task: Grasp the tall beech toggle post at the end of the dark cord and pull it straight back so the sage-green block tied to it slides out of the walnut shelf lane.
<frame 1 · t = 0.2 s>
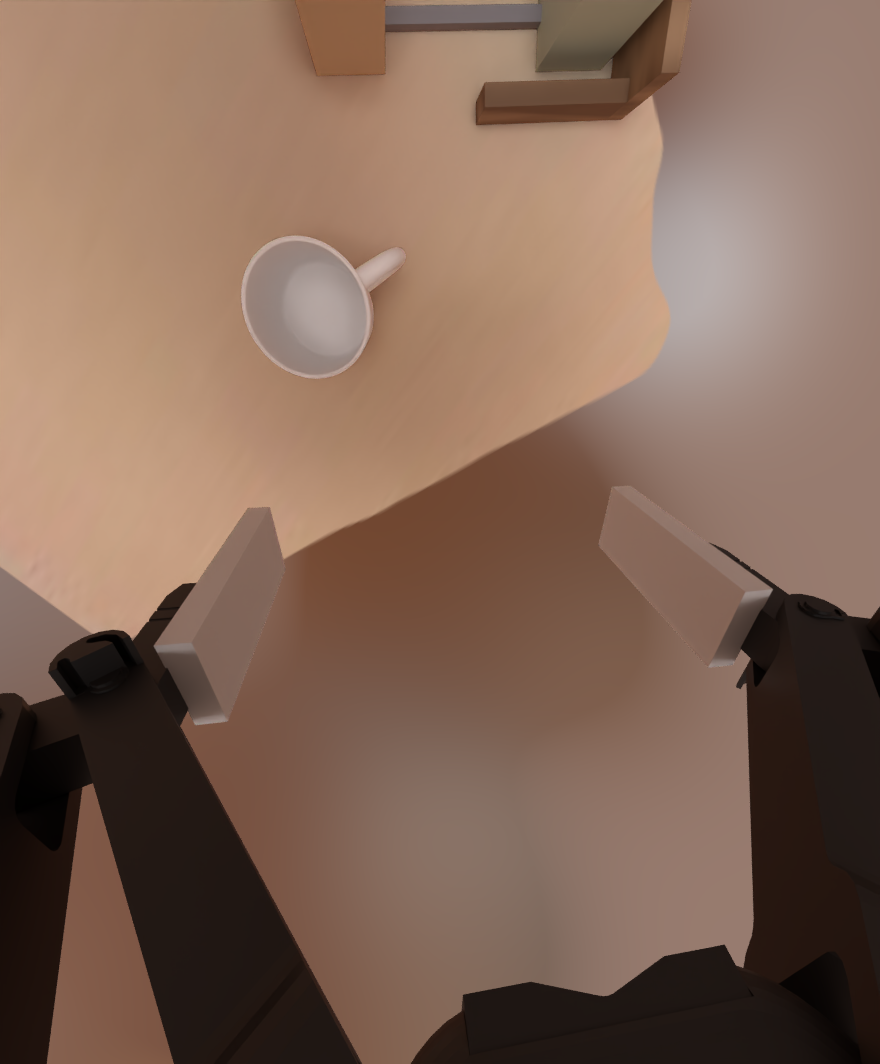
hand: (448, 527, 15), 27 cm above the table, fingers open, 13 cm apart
cup: (344, 300, 34), on the table
lane: (558, 19, 28), on the table
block: (571, 19, 28), on the table
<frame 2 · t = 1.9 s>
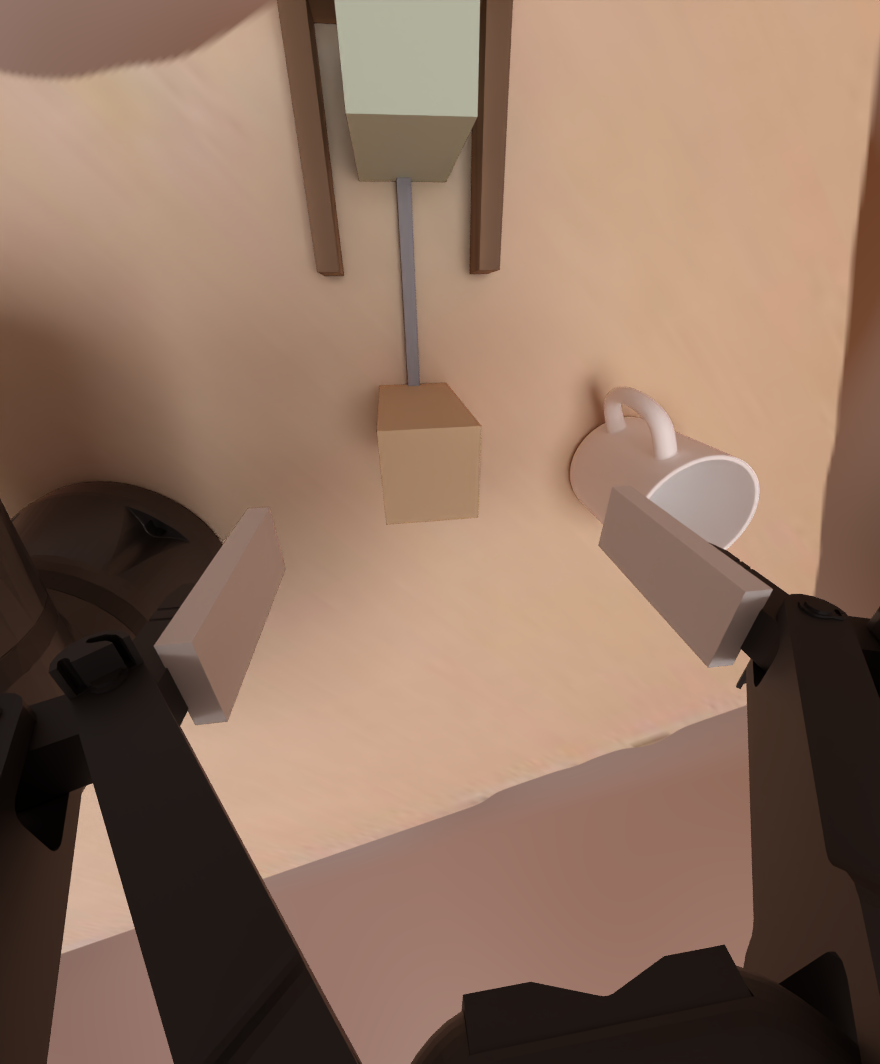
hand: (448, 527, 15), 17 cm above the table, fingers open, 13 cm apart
cup: (607, 444, 32), on the table
lane: (401, 146, 22), on the table
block: (400, 121, 21), on the table
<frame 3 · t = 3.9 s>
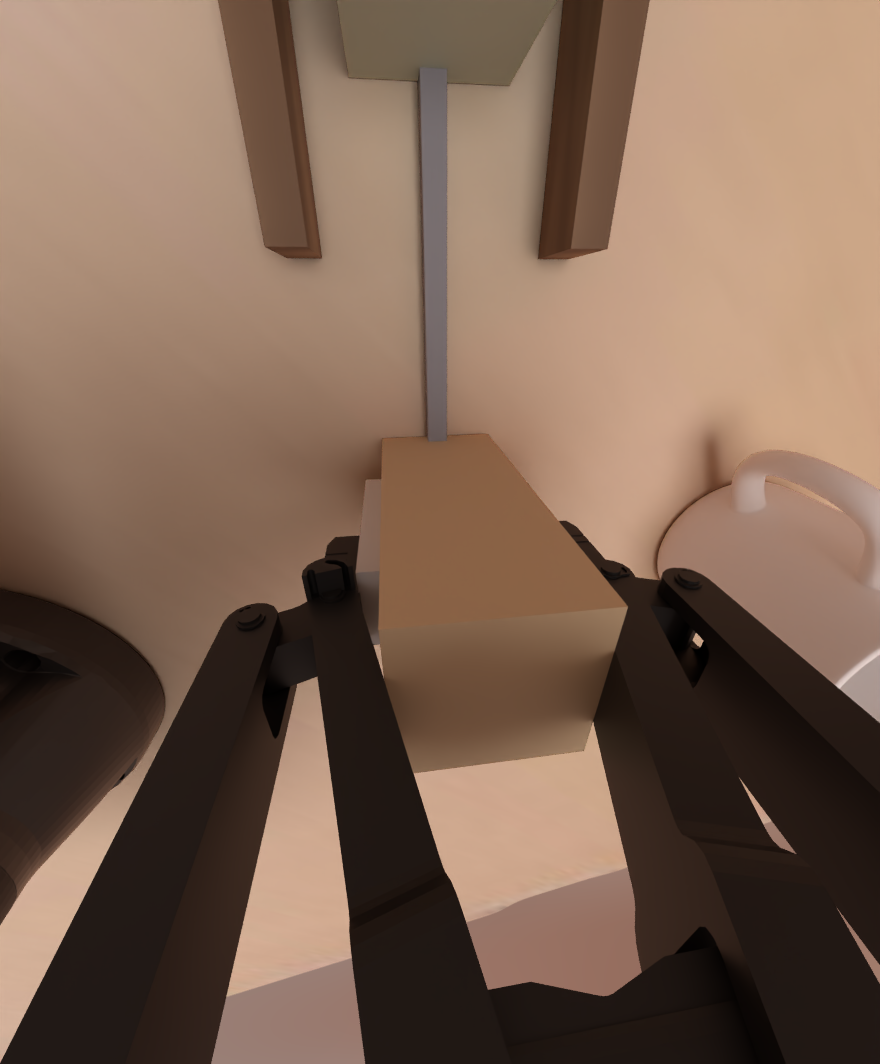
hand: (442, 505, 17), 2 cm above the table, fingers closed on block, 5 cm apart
cup: (715, 516, 22), on the table
lane: (429, 6, 11), on the table
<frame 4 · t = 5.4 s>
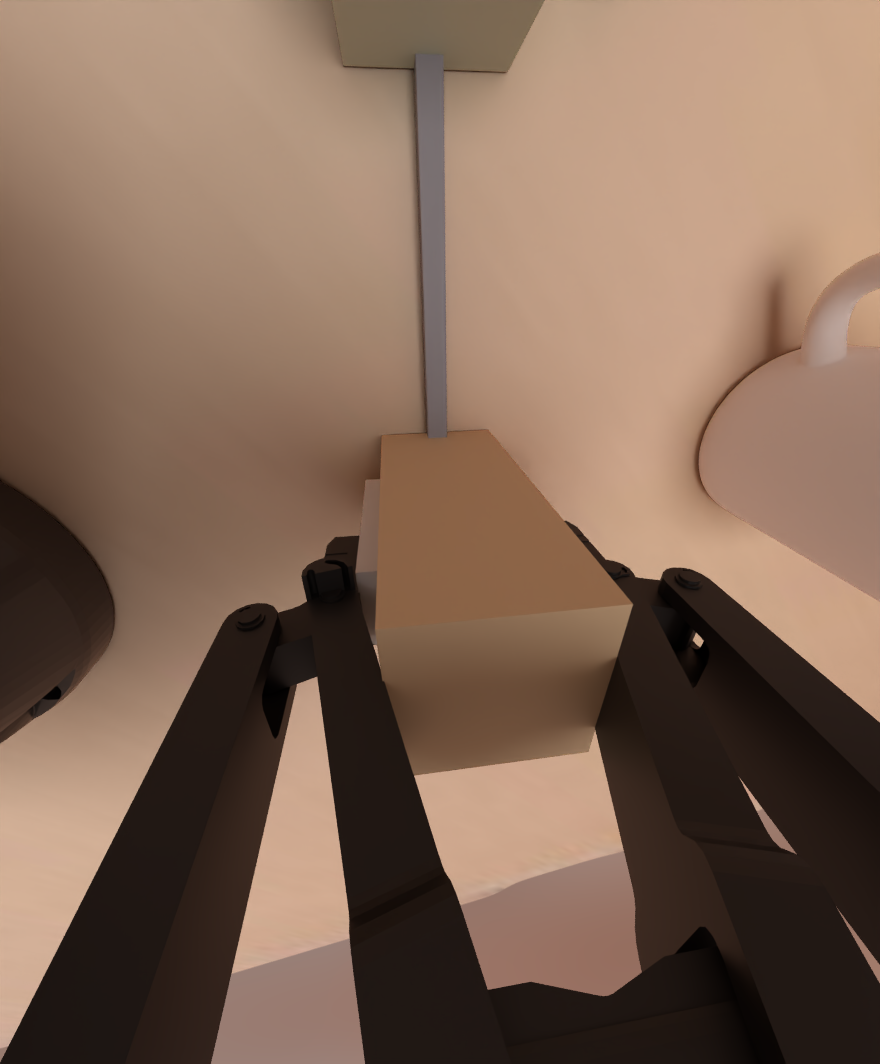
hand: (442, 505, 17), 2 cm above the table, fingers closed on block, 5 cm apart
cup: (769, 398, 19), on the table
when the fingers open (2 cm above the table, at t = 7.1 s): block stays where it is, on the table.
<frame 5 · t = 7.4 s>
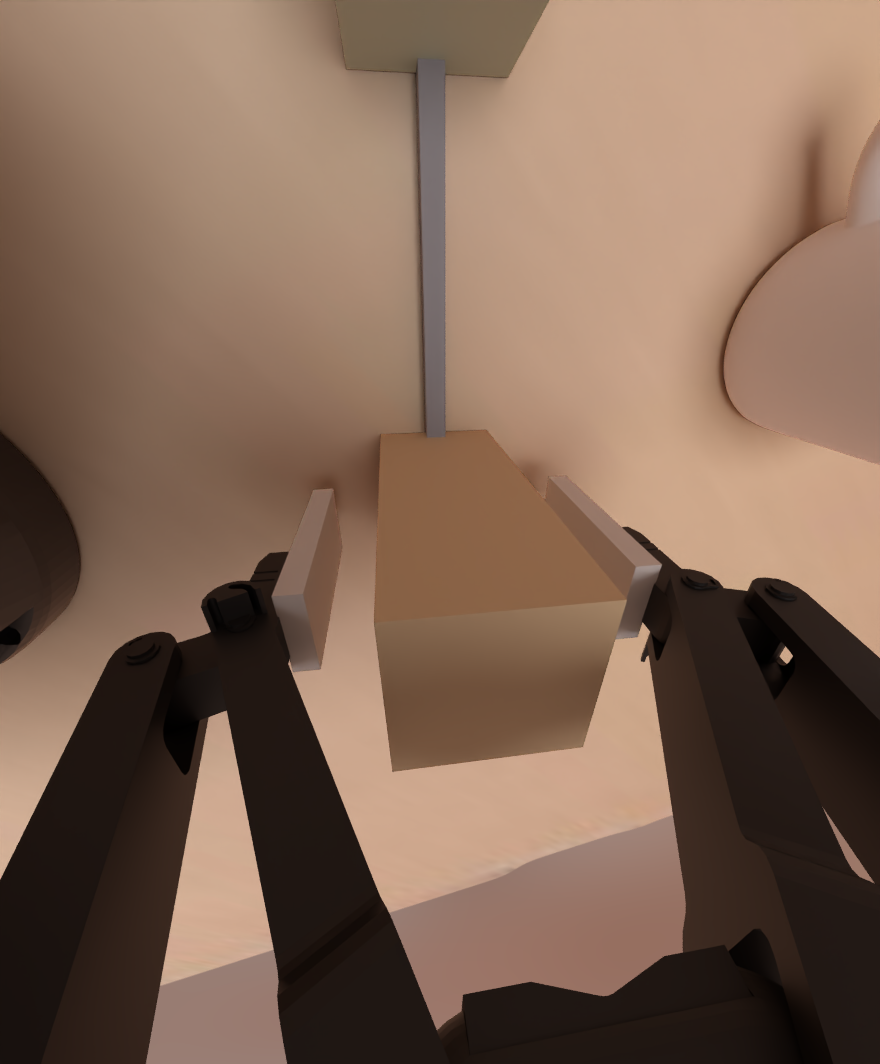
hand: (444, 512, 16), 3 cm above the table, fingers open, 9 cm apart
cup: (804, 289, 17), on the table
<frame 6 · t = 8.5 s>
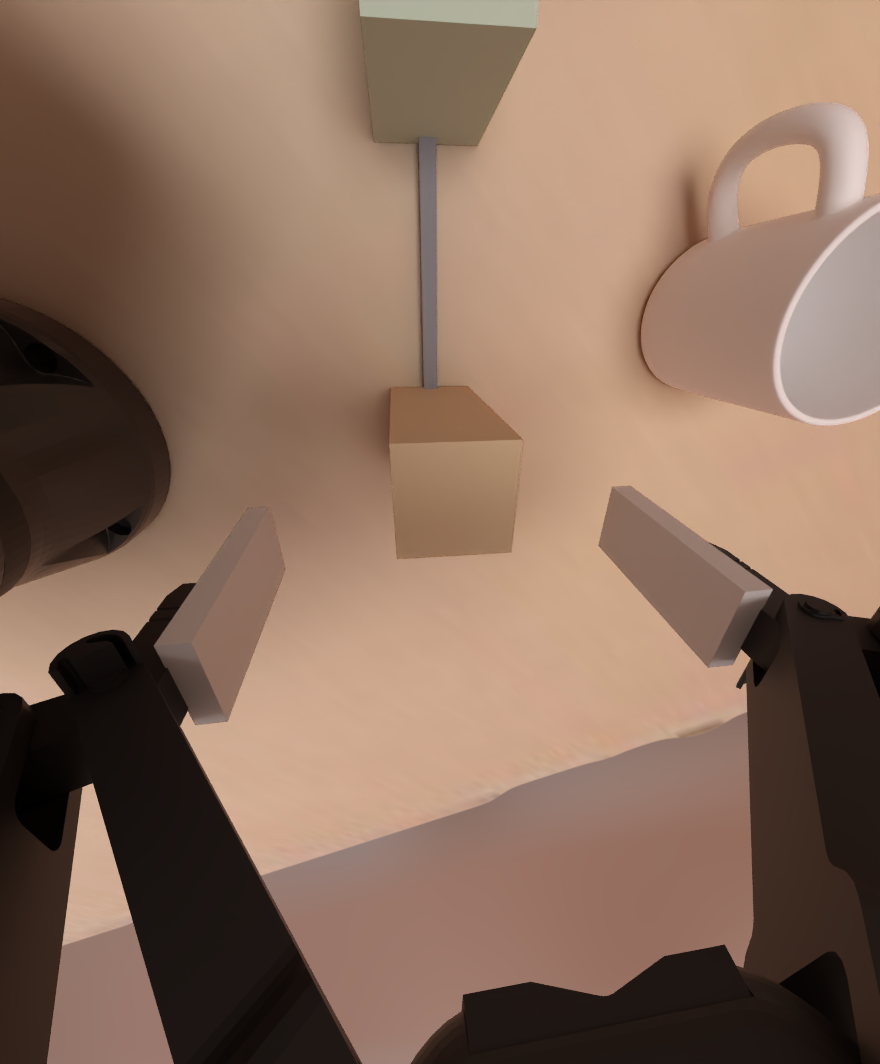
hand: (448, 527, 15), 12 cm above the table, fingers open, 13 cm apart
cup: (695, 285, 23), on the table
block: (425, 68, 17), on the table
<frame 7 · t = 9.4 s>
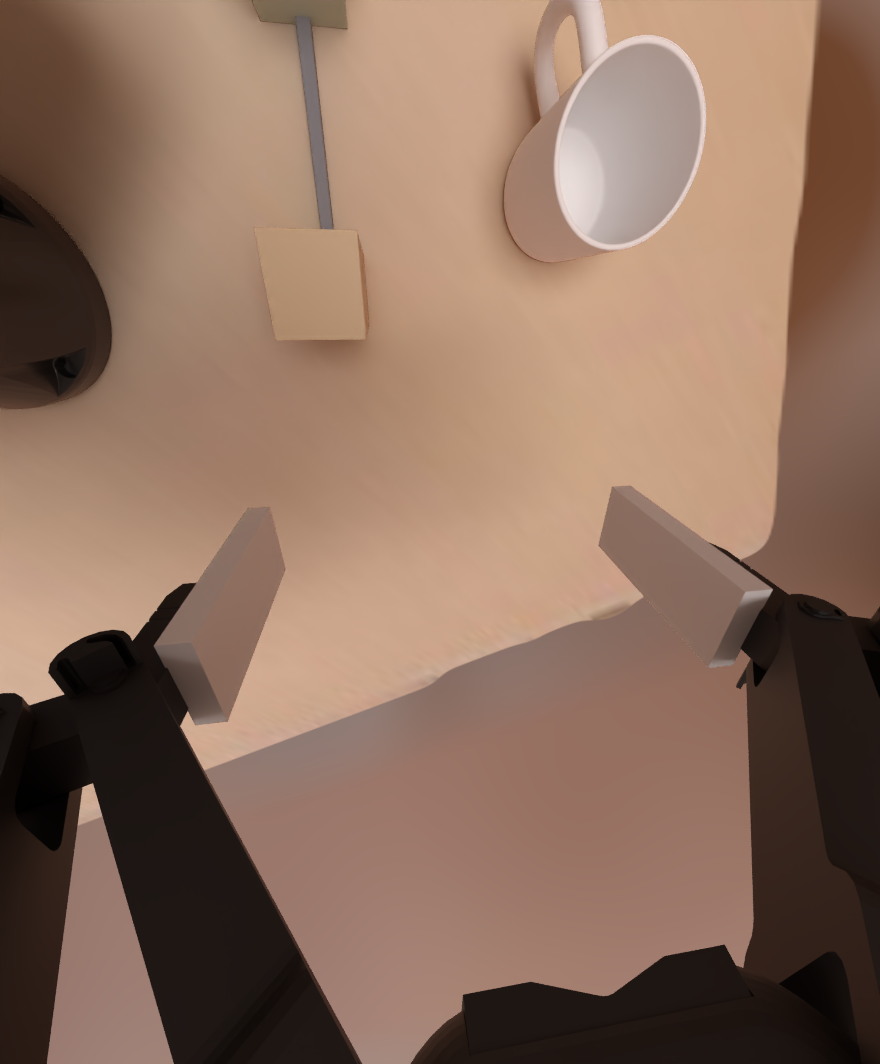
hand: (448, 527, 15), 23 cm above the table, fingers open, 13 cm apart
cup: (546, 166, 28), on the table
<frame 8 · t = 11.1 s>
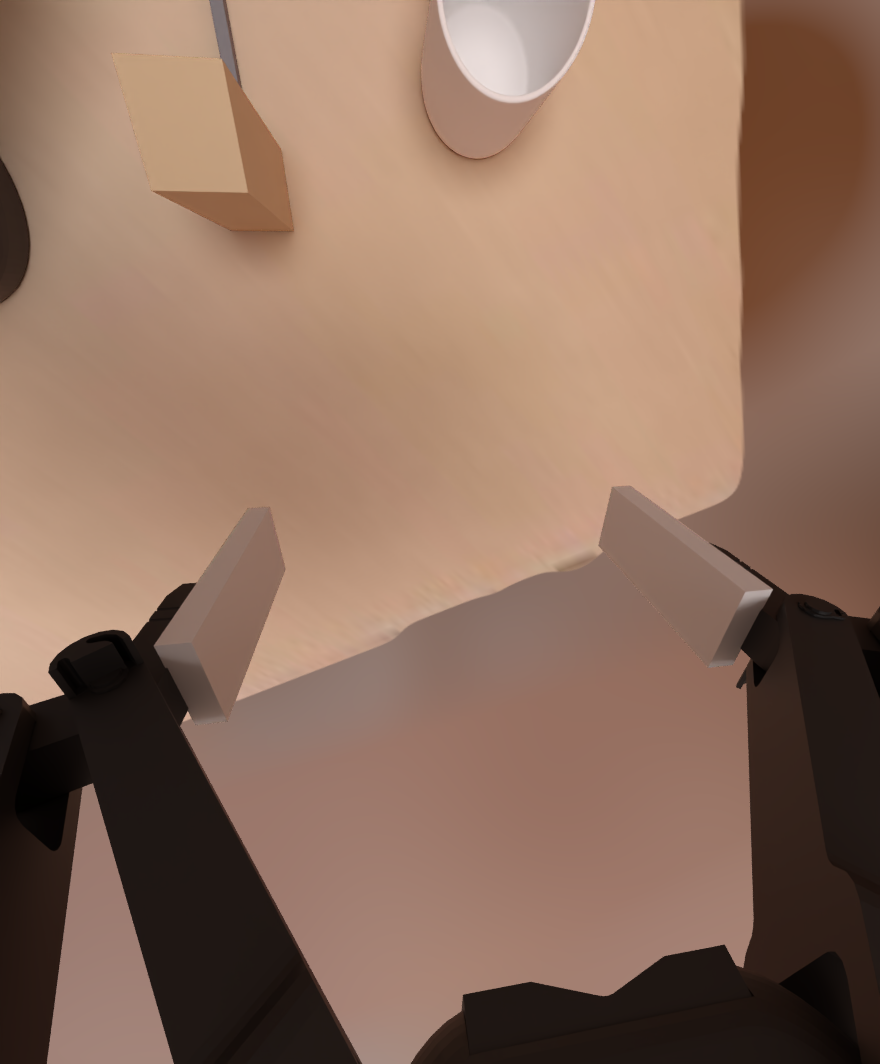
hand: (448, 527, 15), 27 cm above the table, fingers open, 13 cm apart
cup: (466, 51, 27), on the table
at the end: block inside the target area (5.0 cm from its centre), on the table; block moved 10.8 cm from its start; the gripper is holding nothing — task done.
